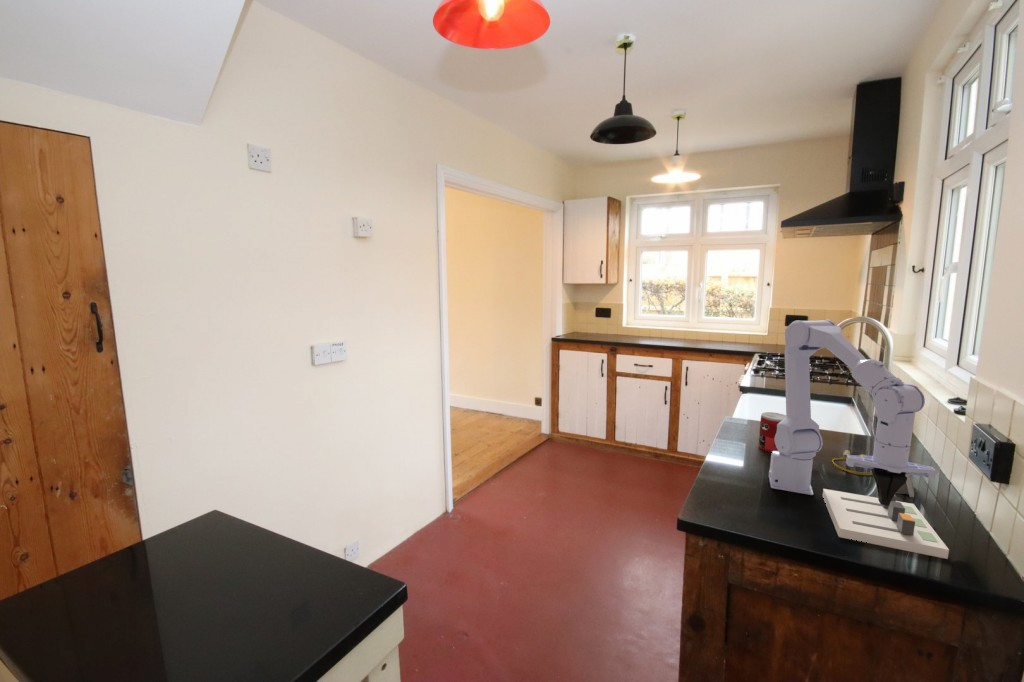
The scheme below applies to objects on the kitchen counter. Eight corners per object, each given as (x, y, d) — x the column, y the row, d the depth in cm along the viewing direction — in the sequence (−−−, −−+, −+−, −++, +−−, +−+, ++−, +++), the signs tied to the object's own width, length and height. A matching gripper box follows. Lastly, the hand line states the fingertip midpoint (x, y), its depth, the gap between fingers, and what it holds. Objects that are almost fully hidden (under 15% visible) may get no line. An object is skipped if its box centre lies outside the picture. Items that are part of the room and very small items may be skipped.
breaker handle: (901, 533, 97) (903, 519, 97) (896, 526, 100) (898, 512, 100) (913, 535, 97) (915, 521, 96) (908, 528, 99) (910, 514, 99)
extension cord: (893, 468, 136) (894, 462, 135) (868, 480, 128) (868, 474, 127) (846, 454, 146) (847, 448, 146) (820, 464, 138) (820, 458, 138)
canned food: (760, 442, 154) (763, 410, 152) (788, 448, 149) (791, 415, 148) (756, 450, 148) (759, 416, 146) (785, 455, 143) (788, 421, 142)
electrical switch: (914, 499, 117) (914, 463, 116) (887, 495, 120) (887, 459, 119) (913, 486, 124) (913, 452, 123) (887, 482, 127) (888, 449, 126)
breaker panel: (838, 537, 100) (841, 513, 99) (822, 496, 118) (824, 476, 117) (947, 559, 93) (951, 534, 92) (912, 511, 111) (915, 490, 110)
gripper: (854, 443, 96) (846, 504, 99) (945, 455, 90) (934, 520, 93) (847, 432, 103) (839, 489, 105) (931, 442, 97) (921, 503, 99)
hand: (883, 503), depth 99 cm, fingers closed
